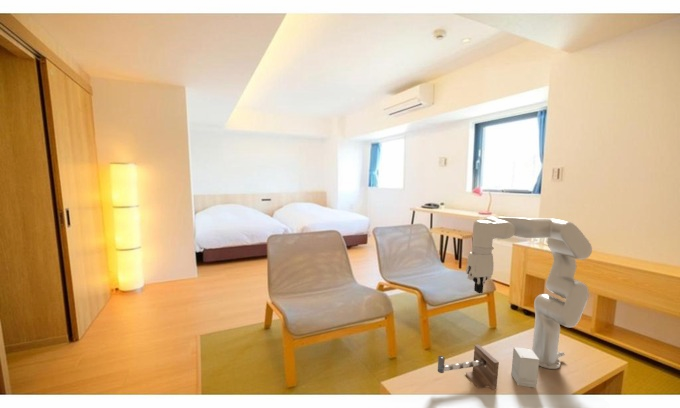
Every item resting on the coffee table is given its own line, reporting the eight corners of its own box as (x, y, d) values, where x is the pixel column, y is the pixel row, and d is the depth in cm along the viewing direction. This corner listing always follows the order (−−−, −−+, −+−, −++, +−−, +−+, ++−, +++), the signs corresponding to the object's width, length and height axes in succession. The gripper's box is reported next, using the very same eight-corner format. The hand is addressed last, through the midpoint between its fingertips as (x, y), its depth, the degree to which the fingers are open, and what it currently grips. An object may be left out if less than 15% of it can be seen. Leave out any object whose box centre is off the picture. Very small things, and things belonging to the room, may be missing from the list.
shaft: (479, 362, 124) (480, 349, 123) (483, 366, 122) (484, 353, 121) (436, 369, 120) (437, 356, 119) (439, 373, 117) (440, 359, 117)
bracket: (476, 369, 130) (478, 344, 129) (496, 389, 119) (498, 362, 117) (462, 371, 129) (464, 346, 127) (481, 392, 117) (483, 364, 116)
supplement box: (537, 388, 120) (540, 359, 118) (517, 385, 121) (519, 357, 119) (529, 375, 127) (532, 348, 125) (510, 373, 128) (513, 346, 127)
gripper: (490, 246, 127) (487, 286, 129) (460, 248, 123) (457, 289, 126) (503, 251, 119) (500, 294, 122) (471, 253, 116) (468, 297, 119)
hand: (478, 291), depth 124 cm, fingers closed
